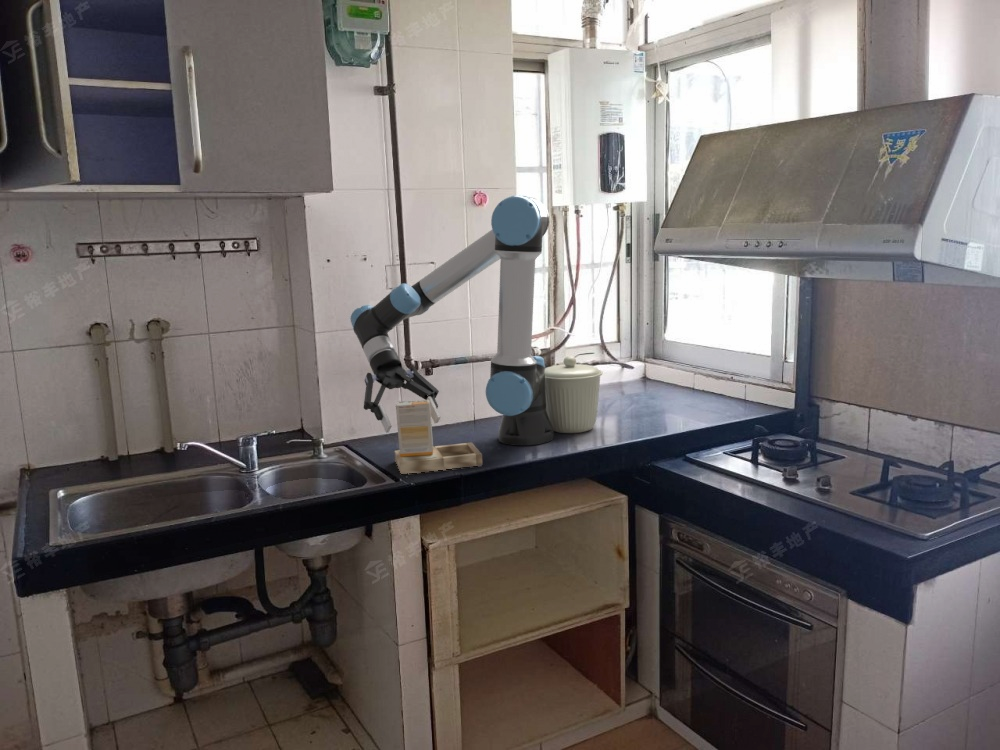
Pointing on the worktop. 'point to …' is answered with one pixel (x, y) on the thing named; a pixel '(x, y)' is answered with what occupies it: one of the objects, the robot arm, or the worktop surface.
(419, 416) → the supplement box
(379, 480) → the worktop surface
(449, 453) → the board
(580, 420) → the canister
